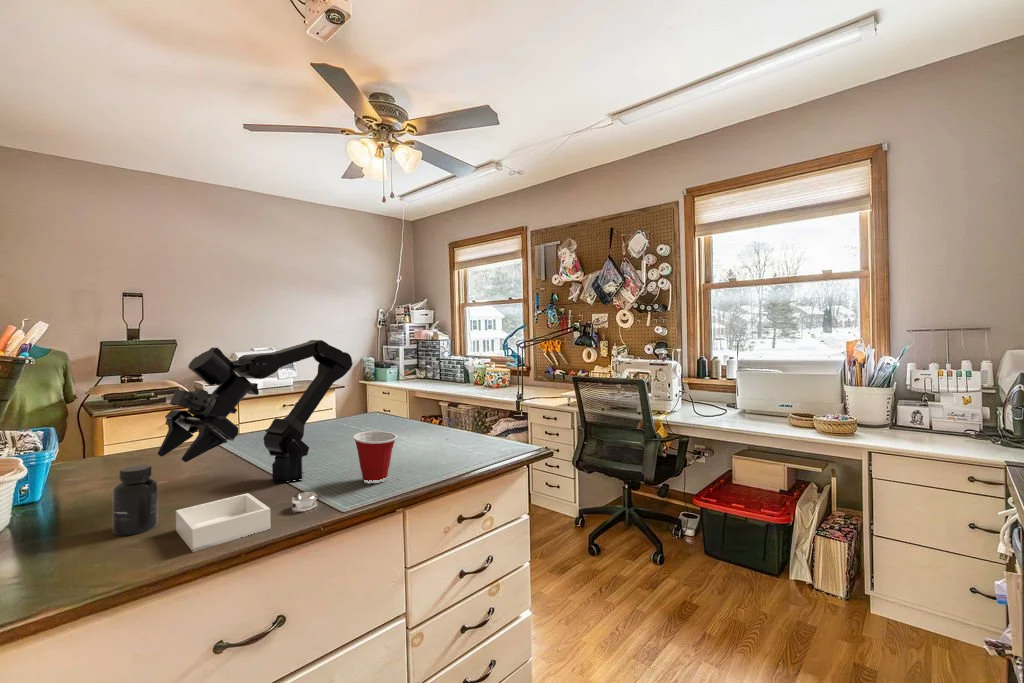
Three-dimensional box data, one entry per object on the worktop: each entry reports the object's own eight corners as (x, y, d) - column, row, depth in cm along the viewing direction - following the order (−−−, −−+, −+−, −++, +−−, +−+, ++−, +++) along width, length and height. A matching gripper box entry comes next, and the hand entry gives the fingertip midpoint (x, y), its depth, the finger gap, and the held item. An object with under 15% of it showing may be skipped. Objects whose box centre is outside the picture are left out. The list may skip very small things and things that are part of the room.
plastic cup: (381, 490, 109) (380, 441, 109) (344, 485, 112) (344, 437, 112) (405, 476, 119) (405, 431, 119) (371, 472, 123) (370, 428, 122)
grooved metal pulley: (320, 504, 100) (297, 504, 100) (320, 490, 100) (297, 491, 100) (312, 512, 95) (288, 513, 95) (312, 499, 95) (287, 499, 95)
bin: (248, 511, 96) (248, 493, 96) (270, 528, 87) (270, 508, 87) (176, 530, 87) (175, 510, 86) (193, 552, 78) (192, 529, 78)
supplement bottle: (107, 539, 83) (106, 475, 83) (119, 525, 89) (118, 465, 89) (154, 532, 86) (152, 470, 86) (162, 519, 92) (161, 461, 92)
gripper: (174, 373, 102) (114, 431, 92) (223, 377, 93) (163, 441, 83) (211, 403, 109) (159, 460, 99) (260, 409, 100) (208, 472, 91)
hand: (171, 458), depth 93 cm, fingers open, 9 cm apart
